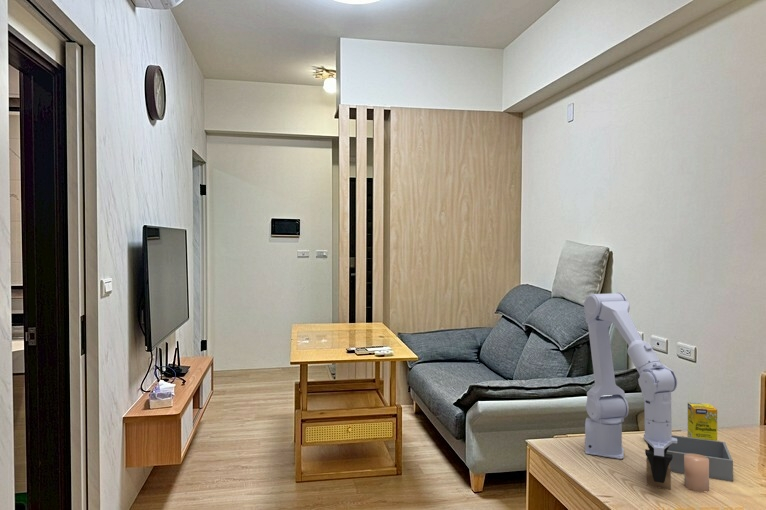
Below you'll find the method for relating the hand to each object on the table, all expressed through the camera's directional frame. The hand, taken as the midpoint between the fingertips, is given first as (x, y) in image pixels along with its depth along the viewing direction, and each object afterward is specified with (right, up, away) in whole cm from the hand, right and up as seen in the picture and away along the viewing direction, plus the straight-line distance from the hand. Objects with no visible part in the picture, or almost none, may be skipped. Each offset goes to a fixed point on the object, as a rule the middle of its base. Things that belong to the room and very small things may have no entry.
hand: (658, 475), depth 124 cm
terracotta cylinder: (+8, -2, -2) cm, 8 cm away
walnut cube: (0, -2, 0) cm, 2 cm away
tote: (+13, -2, +10) cm, 17 cm away
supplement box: (+26, -2, +24) cm, 35 cm away
